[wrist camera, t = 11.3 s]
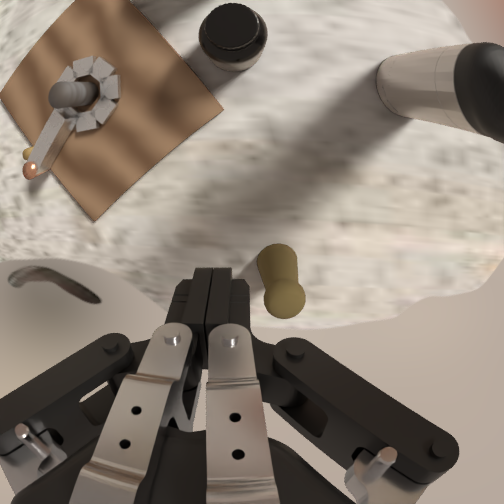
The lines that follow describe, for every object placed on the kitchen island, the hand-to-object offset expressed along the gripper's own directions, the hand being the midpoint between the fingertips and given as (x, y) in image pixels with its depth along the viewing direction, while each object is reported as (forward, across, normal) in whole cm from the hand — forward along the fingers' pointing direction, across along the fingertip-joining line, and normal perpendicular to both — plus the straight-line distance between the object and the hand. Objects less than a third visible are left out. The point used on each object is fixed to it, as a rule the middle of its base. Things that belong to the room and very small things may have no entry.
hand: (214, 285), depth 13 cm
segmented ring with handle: (+27, +22, -8) cm, 36 cm away
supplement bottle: (+29, 0, -15) cm, 33 cm away
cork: (+29, -6, +15) cm, 33 cm away
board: (+29, +19, -11) cm, 36 cm away
